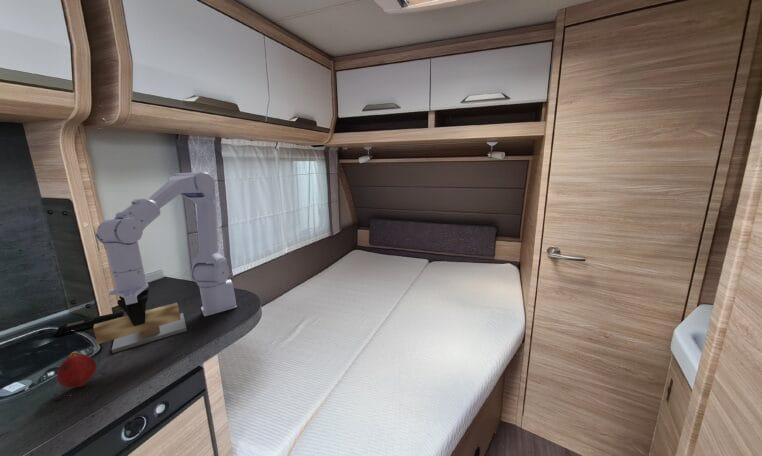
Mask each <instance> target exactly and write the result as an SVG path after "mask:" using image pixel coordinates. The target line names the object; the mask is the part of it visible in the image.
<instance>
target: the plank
mask: <svg viewBox="0 0 762 456" xmlns="http://www.w3.org/2000/svg"><path fill="white" fill-rule="evenodd" d="M180 314H181V313H180V309H179V304H178V302H174V303H170V304H166V305H162V306H158V307H155V308H151V309H146V311H145V323H144V324H141V325H137V326H134V325H133V324H132V322H131V320H130V318H129V317H128V315H125V316H124V315H123V317H120V318H117V319H113V320H109V321H105V322H101V323H98V324H94V327H93V332H94V336H95V340H96V344H97V345H100V344H103V343H107V342H110V341H114V339H117V338H121V337H124V336H127V335H131V334H134V333H137V332H141V331H144V330H148V329H151V328H154V327H158V326H161V325H164V324H168V323H171V322H174V321H178V320H181V318H180Z"/></svg>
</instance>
